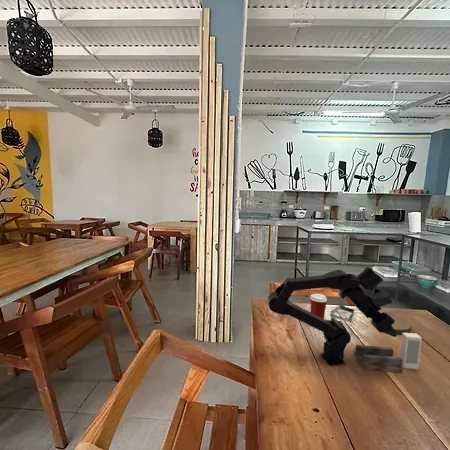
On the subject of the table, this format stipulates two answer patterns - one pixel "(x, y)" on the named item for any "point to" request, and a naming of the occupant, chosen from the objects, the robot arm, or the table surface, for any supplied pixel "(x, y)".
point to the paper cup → (318, 304)
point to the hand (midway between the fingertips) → (388, 329)
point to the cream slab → (410, 350)
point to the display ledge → (378, 358)
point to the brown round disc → (400, 325)
